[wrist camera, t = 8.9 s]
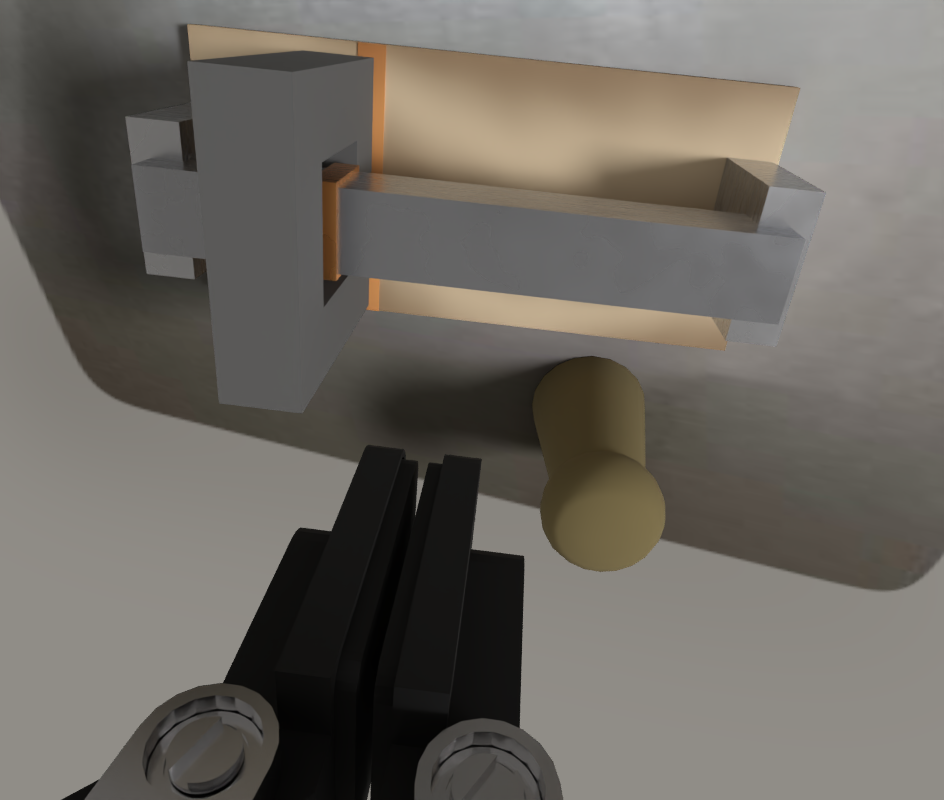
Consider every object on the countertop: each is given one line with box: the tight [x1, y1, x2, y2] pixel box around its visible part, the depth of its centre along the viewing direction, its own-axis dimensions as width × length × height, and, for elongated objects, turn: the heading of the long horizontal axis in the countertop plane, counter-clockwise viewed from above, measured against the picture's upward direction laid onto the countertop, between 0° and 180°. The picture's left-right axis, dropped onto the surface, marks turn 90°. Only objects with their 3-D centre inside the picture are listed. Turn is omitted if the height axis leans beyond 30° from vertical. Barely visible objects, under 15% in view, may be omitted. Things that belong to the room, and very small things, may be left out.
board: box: [187, 24, 800, 351], centre depth 33 cm, size 12×26×1 cm, turn 85°
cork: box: [532, 356, 665, 572], centre depth 33 cm, size 6×6×11 cm
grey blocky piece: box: [125, 103, 826, 346], centre depth 29 cm, size 6×26×8 cm, turn 85°
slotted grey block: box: [187, 50, 374, 413], centre depth 27 cm, size 11×3×11 cm, turn 175°
